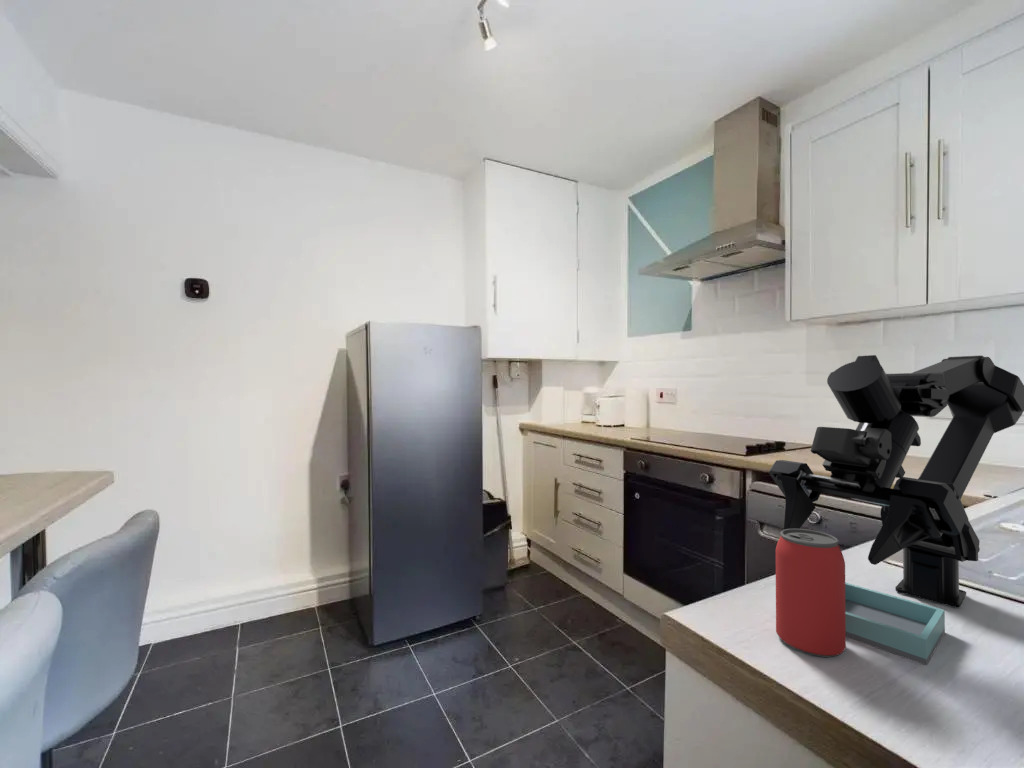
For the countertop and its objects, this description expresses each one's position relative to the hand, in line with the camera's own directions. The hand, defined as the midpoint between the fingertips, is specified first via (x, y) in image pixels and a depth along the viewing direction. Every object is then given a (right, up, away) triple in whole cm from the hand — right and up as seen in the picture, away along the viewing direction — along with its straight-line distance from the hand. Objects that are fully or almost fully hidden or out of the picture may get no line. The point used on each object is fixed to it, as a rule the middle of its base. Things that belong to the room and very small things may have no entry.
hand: (825, 548), depth 52 cm
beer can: (-3, -10, -2) cm, 11 cm away
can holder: (+7, -10, +1) cm, 13 cm away
